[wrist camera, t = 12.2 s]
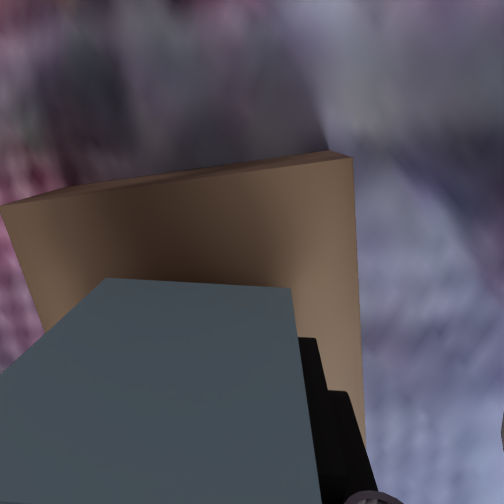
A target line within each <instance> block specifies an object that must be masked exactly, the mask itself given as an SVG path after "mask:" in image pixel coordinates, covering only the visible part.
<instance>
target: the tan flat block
mask: <svg viewBox="0 0 504 504" xmlns="http://www.w3.org/2000/svg"><path fill="white" fill-rule="evenodd" d="M0 213H1V216H2V218H3V221H4V224H5V226H6V229H7V232H8V234H9V237H10V240H11V242H12V245H13V248H14V251H15V253H16V256H17V259H18V261H19V264H20V267H21V269H22V272H23V275H24V277H25V280H26V283H27V285H28V288H29V291H30V293H31V296H32V299H33V302H34V304H35V307H36V310H37V312H38V315H39V318H40V320H41V323H42V326H43V328H44V331H45V333H46V332H47V331H49V330H50V329H51V328H52V327H53V326H54V325H55V324H56V323H57V322H58V321H59V320H61V319H62V318H63V317H64V316H65V315H66V314H67V313H68V312H69V311H70V310H71V309H72V308H74V307H75V306H76V305H77V304H78V303H79V302H80V301H81V300H82V299H83V298H84V297H86V296H87V295H88V294H89V293H90V292H91V291H92V290H93V289H94V288H95V287H96V286H98V285H99V284H100V283H101V282H102V281H103V280H104V279H105V278H120V279H137V280H155V281H173V282H190V283H208V284H225V285H243V286H261V287H278V288H291V294H292V301H293V308H294V315H295V322H296V328H297V335H298V337H309V338H316V340H317V345H318V349H319V353H320V357H321V362H322V366H323V370H324V375H325V379H326V383H327V388H328V390H337V391H346V392H347V393H348V395H349V397H350V400H351V403H352V407H353V410H354V413H355V416H356V420H357V423H358V426H359V429H360V433H361V436H362V439H363V443H364V446H365V448H366V434H365V413H364V391H363V370H362V348H361V326H360V305H359V283H358V261H357V240H356V218H355V196H354V175H353V157H350V156H346V155H343V154H340V153H337V152H334V151H330V150H327V151H320V152H313V153H306V154H298V155H291V156H284V157H277V158H270V159H263V160H256V161H248V162H241V163H234V164H227V165H220V166H213V167H206V168H198V169H191V170H184V171H177V172H170V173H163V174H155V175H148V176H141V177H134V178H127V179H120V180H113V181H105V182H98V183H91V184H84V185H77V186H70V187H64V188H61V189H57V190H54V191H50V192H47V193H43V194H40V195H36V196H33V197H29V198H25V199H22V200H18V201H15V202H11V203H8V204H4V205H1V206H0Z"/></svg>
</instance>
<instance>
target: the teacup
mask: <svg viewBox="0 0 504 504" xmlns="http://www.w3.org/2000/svg"><path fill="white" fill-rule="evenodd" d="M501 437H502V444H503V451H504V414H503V421H502V428H501Z"/></svg>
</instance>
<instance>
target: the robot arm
mask: <svg viewBox="0 0 504 504" xmlns="http://www.w3.org/2000/svg"><path fill="white" fill-rule="evenodd" d="M298 342H299V349H300V356H301V363H302V370H303V377H304V384H305V391H306V398H307V404H308V411H309V418H310V425H311V432H312V439H313V446H314V453H315V460H316V467H317V474H318V480H319V487H320V494H321V501H322V504H403V503H402V502H401V501H399V500H398V499H397V498H395V497H392V496H390V495H388V494H386V493H383V492H378V488H377V485H376V482H375V479H374V475H373V472H372V469H371V465H370V462H369V459H368V456H367V452H366V449H365V446H364V443H363V439H362V436H361V433H360V429H359V426H358V423H357V420H356V416H355V413H354V410H353V407H352V403H351V400H350V397H349V395H348V393H347V392H346V391H337V390H328V388H327V383H326V379H325V375H324V370H323V366H322V362H321V357H320V353H319V349H318V345H317V340H316V338H309V337H298Z"/></svg>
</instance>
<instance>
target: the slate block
mask: <svg viewBox="0 0 504 504" xmlns="http://www.w3.org/2000/svg"><path fill="white" fill-rule="evenodd" d="M0 504H322V501H321V494H320V487H319V480H318V474H317V467H316V460H315V453H314V446H313V439H312V432H311V425H310V418H309V411H308V404H307V398H306V391H305V384H304V377H303V370H302V363H301V356H300V349H299V342H298V335H297V328H296V322H295V315H294V308H293V301H292V294H291V288H278V287H261V286H243V285H225V284H208V283H190V282H173V281H155V280H137V279H120V278H105V279H104V280H103V281H102V282H101V283H100V284H99V285H98V286H96V287H95V288H94V289H93V290H92V291H91V292H90V293H89V294H88V295H87V296H86V297H84V298H83V299H82V300H81V301H80V302H79V303H78V304H77V305H76V306H75V307H74V308H72V309H71V310H70V311H69V312H68V313H67V314H66V315H65V316H64V317H63V318H62V319H61V320H59V321H58V322H57V323H56V324H55V325H54V326H53V327H52V328H51V329H50V330H49V331H47V332H46V333H45V334H44V335H43V336H42V337H41V338H40V339H39V340H38V341H37V342H35V343H34V344H33V345H32V346H31V347H30V348H29V349H28V350H27V351H26V352H25V353H23V354H22V355H21V356H20V357H19V358H18V359H17V360H16V361H15V362H14V363H13V364H12V365H10V366H9V367H8V368H7V369H6V370H5V371H4V372H3V373H2V374H1V375H0Z"/></svg>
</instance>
